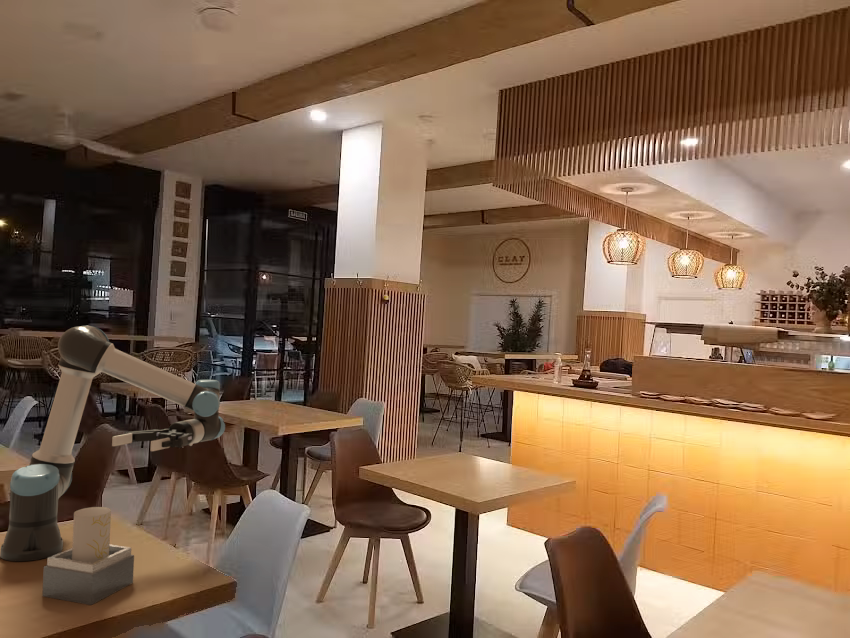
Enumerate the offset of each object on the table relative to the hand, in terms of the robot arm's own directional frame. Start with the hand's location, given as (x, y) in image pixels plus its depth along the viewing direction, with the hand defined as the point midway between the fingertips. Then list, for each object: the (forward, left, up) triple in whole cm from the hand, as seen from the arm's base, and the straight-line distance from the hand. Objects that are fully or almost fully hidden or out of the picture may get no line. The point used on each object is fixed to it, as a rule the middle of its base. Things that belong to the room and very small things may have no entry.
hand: (132, 443), depth 182 cm
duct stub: (+5, -20, -32) cm, 38 cm away
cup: (+5, -20, -25) cm, 32 cm away
